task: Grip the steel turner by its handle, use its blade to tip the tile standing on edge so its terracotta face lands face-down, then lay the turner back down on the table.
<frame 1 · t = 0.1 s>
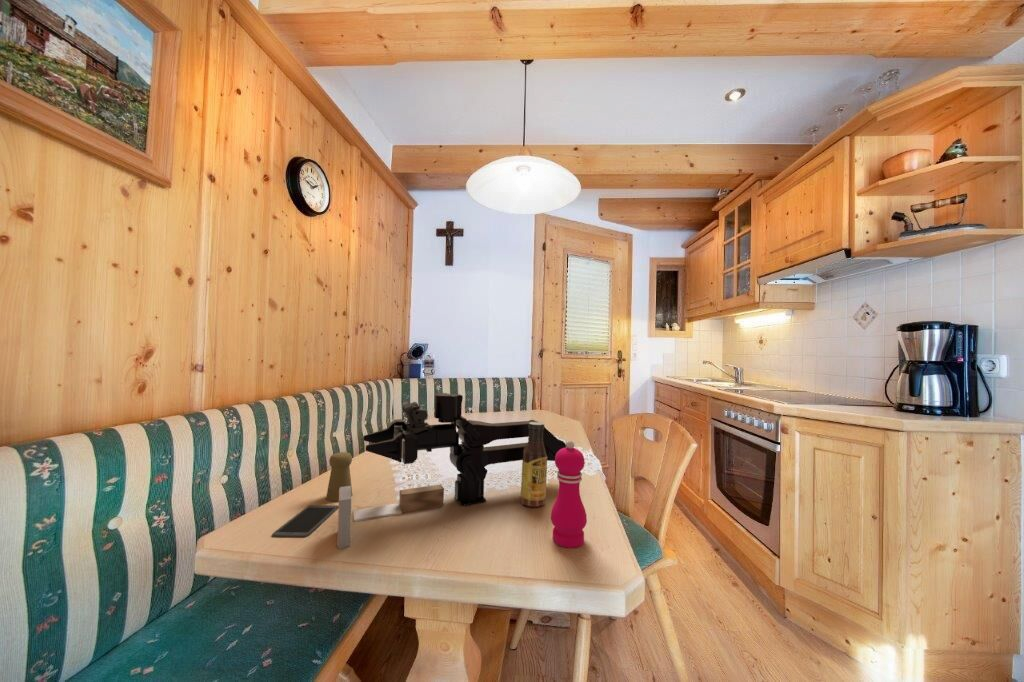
hand: (364, 442, 79), 17 cm above the table, tool horizontal, fingers open, 9 cm apart
sauce bottle: (533, 503, 88), on the table
pepper mill: (568, 540, 71), on the table
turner: (421, 506, 85), on the table
cell phone: (308, 523, 77), on the table
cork: (339, 497, 89), on the table
tile: (343, 538, 70), on the table
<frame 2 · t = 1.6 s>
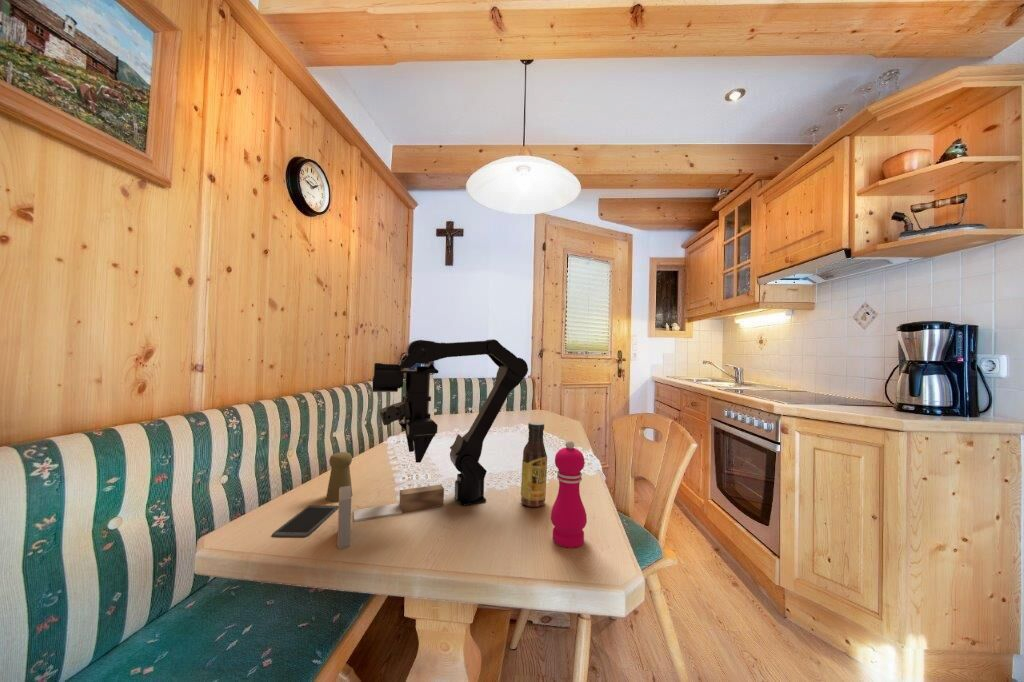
hand: (414, 456, 85), 12 cm above the table, tool pointing down, fingers open, 9 cm apart
nothing on the table moved.
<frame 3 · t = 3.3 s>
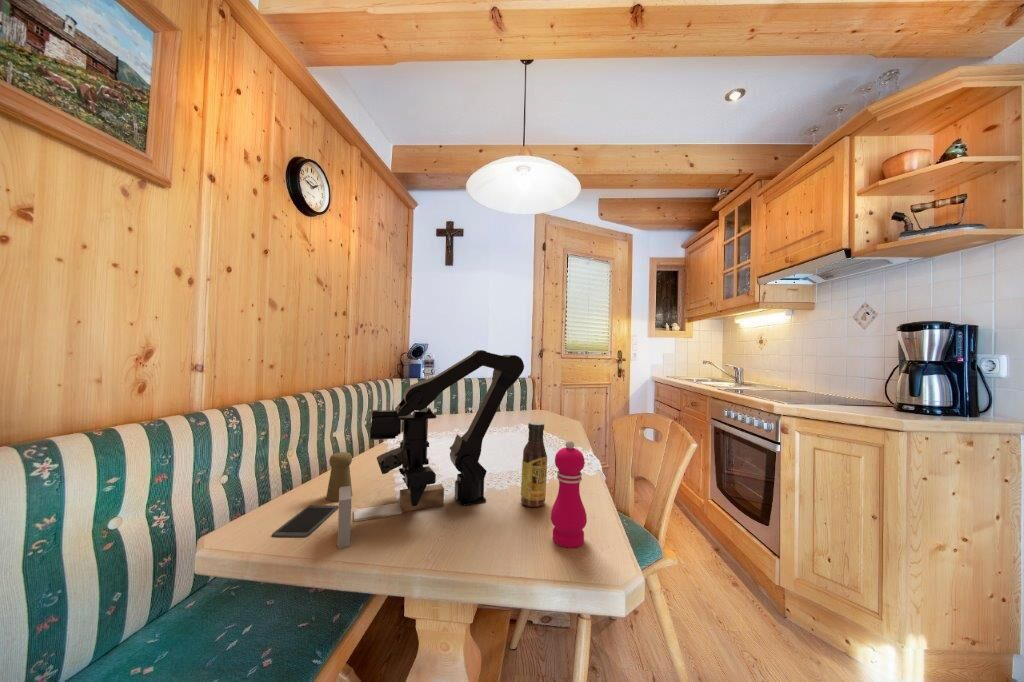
hand: (413, 502, 84), 1 cm above the table, tool pointing down, fingers closed on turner, 3 cm apart
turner: (421, 505, 85), on the table, touching gripper
everything else where it was.
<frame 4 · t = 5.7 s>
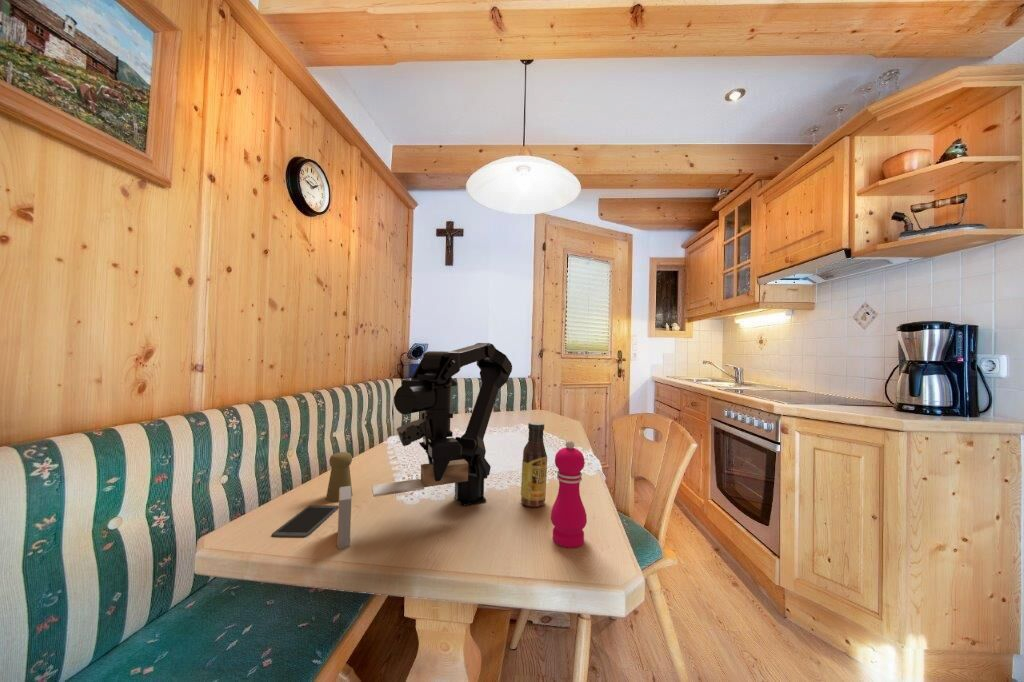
hand: (435, 478, 78), 9 cm above the table, tool pointing down, fingers closed on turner, 3 cm apart
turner: (444, 481, 79), point 8 cm above the table, touching gripper
everything else where it was.
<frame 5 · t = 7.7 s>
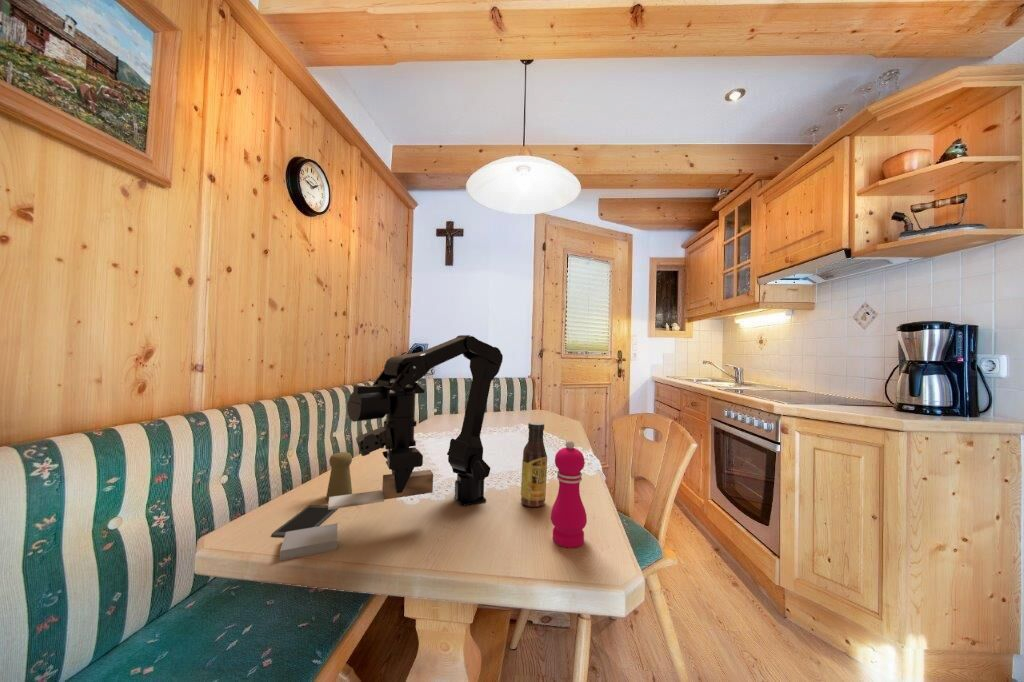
hand: (398, 489, 74), 8 cm above the table, tool pointing down, fingers closed on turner, 3 cm apart
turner: (407, 493, 75), point 7 cm above the table, touching gripper
tile: (337, 536, 69), point 1 cm above the table, tilted 90°
everything else where it was.
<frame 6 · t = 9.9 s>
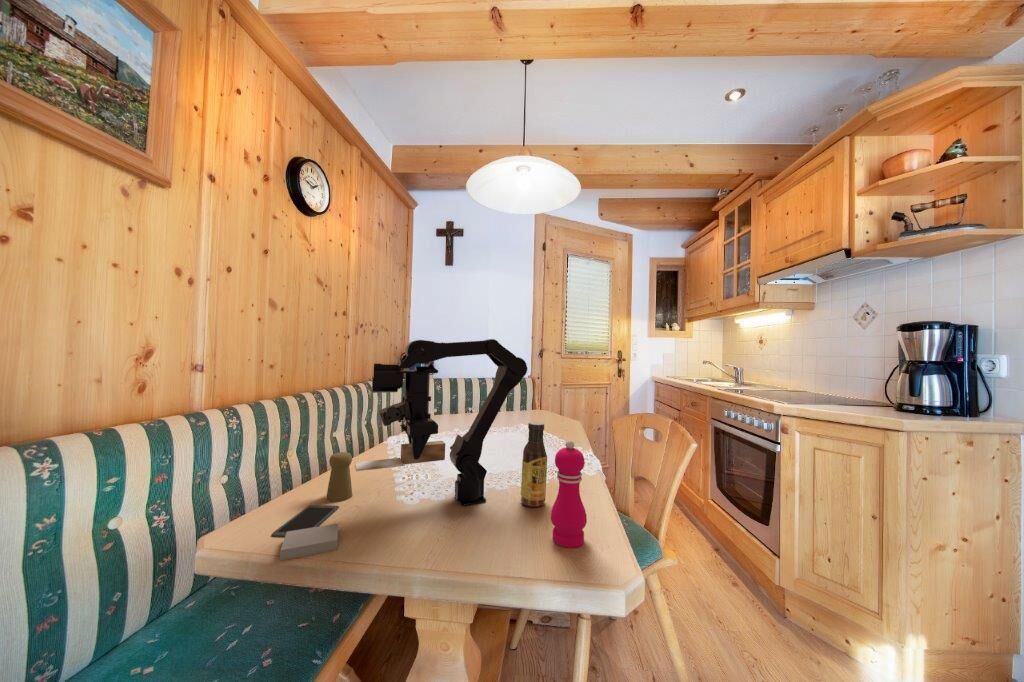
hand: (415, 457, 84), 12 cm above the table, tool pointing down, fingers closed on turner, 3 cm apart
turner: (422, 460, 85), point 11 cm above the table, touching gripper
everything else where it was.
when the fingers open (2 cm above the table, at t = 11.9 s): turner drops 2 cm, on the table.
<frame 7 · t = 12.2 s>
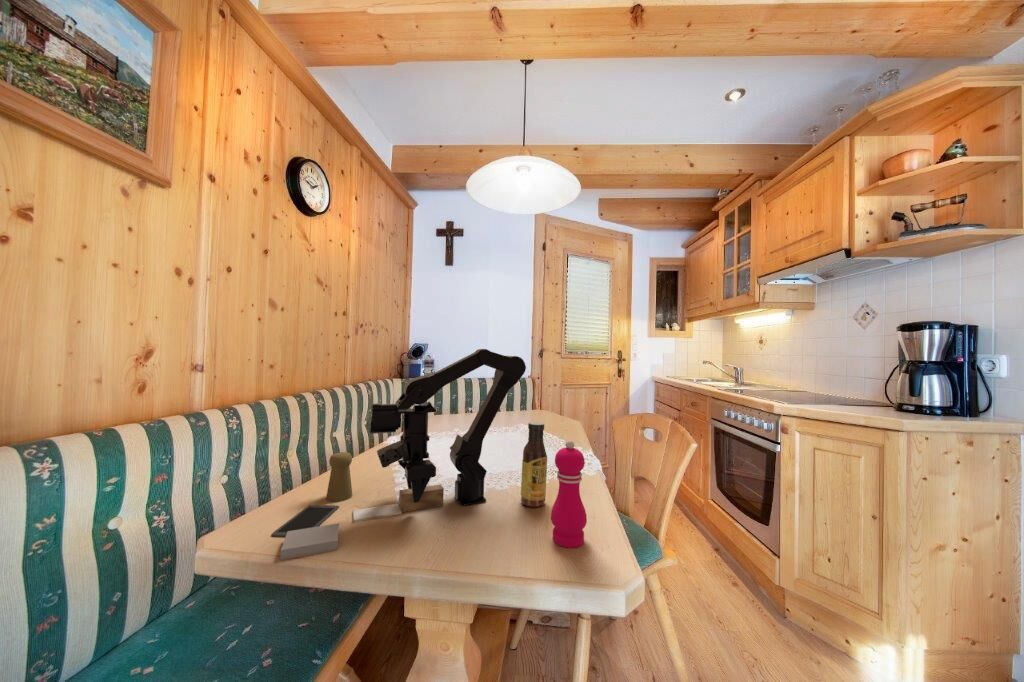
hand: (413, 496, 84), 2 cm above the table, tool pointing down, fingers open, 7 cm apart
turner: (421, 506, 85), on the table
everything else where it was.
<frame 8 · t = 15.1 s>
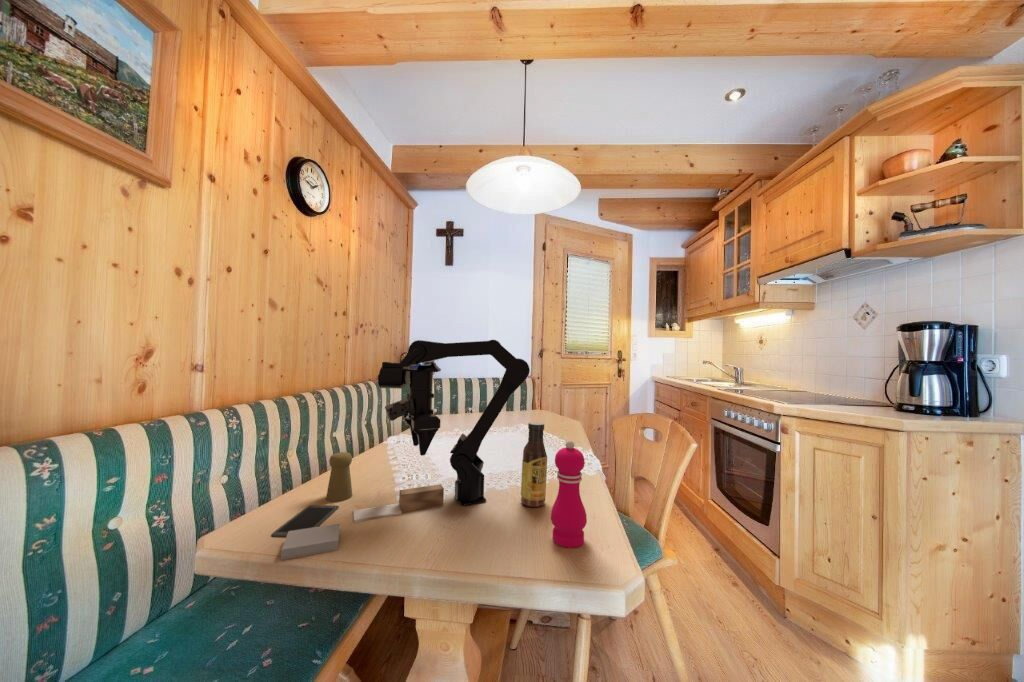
hand: (419, 450, 90), 12 cm above the table, tool pointing down, fingers open, 9 cm apart
nothing on the table moved.
at the end: tile tilted 90°; tile inside the target area (1.5 cm from its centre), point 0.7 cm above the table; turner inside the target area (0.5 cm from its centre), on the table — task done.
